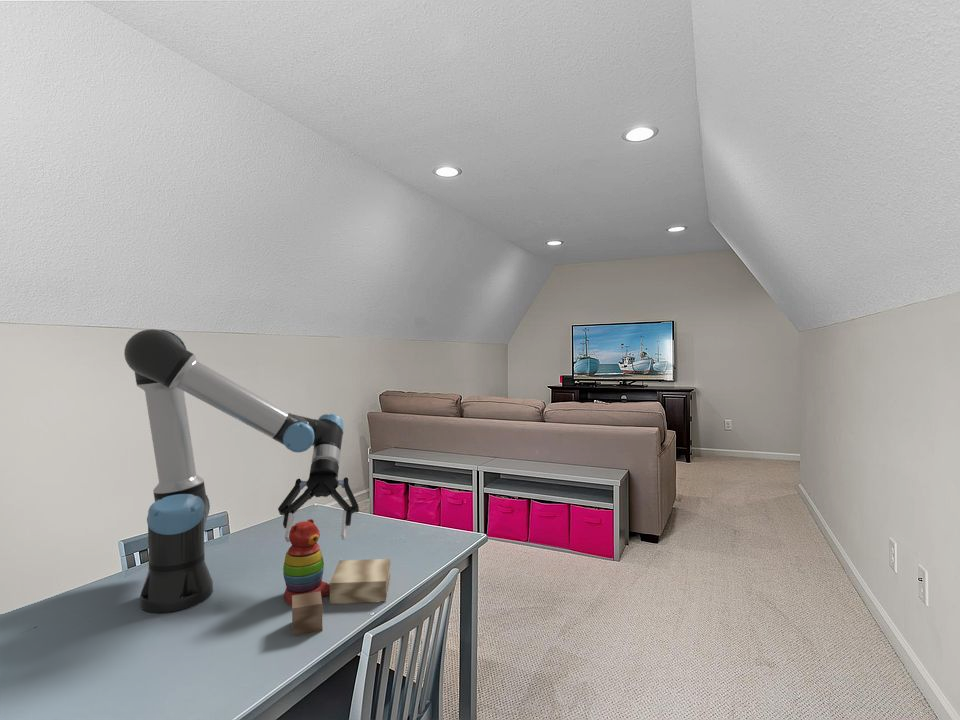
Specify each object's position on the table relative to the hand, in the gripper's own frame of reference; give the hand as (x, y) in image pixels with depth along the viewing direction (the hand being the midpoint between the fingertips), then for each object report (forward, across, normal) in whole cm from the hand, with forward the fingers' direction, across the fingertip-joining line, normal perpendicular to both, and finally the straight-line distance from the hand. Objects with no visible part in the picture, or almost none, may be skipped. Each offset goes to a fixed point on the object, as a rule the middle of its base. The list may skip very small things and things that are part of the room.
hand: (315, 538), depth 132 cm
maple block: (+11, -12, -6) cm, 17 cm away
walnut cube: (+22, -2, +5) cm, 23 cm away
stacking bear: (+12, +2, -6) cm, 13 cm away
